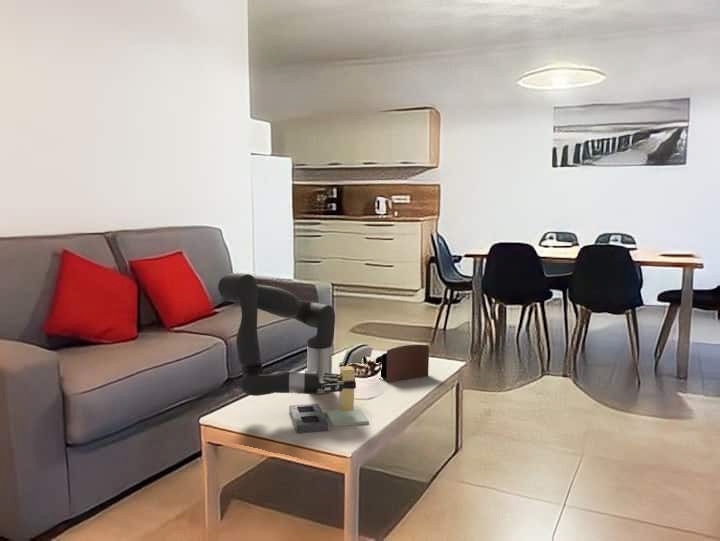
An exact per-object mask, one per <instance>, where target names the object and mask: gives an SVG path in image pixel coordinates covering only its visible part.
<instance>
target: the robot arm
mask: <svg viewBox="0 0 720 541" xmlns="http://www.w3.org/2000/svg"><path fill="white" fill-rule="evenodd" d="M217 287H218V290H217V291H218V293H219V295H220V296H221V297H222V299H224V300H225V301H228V302H231V303H239V306H240V309H241V318H240V319H241V320H240V324H239V327H238V330H237V334H236V341H235V342H236V343H235V345H236V351H237V358H238V362H239V364H240V365H241V372H242V379H241V382H240V388H241V390H242V392H243V393H244V394H246V395H248V396H251V397H252V396H254V397H255V396H257V397H258V396H259V397H261V396H265V395H266V396H267V395H272V394H275V393H277V394H295V395H323V394H329V393H340V392H341V391H342V390H344V389H354V390H355V389H356V387H357V382H356V379H355V380H354V382H345V383H344V381H340V373H332V372H333V370H332V367H333V366H332V365H333V341H334V337H335V326H336V325H335V324H336V313H335V309H334V307H333V306H332V305H330V304H326V303H320V302H311V301H306V300H302V299H299V298H298V297H297V295H295V294H294V293H292V292H290V291H288V290H285V289H283V288H280V287H276V286H271V285H262V284H257V280H256V278H255V277H254V276H253V275H252V274H251V273H246V272H245V273H244V272H243V273H238V272H237V273H233V272H231V273H227V274H225V275H223V276H222V277H221V278H220V280H219V281H218V284H217ZM258 310H260V311H263V312H265V313H268V314H271V315H274V316H276V317H281V318H284V319H293V320H296V321H299V322H300V323H303V324H304V325H306V326H308V327H311V328H316V335H311V336H310V337H308V338H307V343H306V344H307V346H306V349H307V351H306V352H307V354H306V355H307V360H306V362H307V364H306V370H292V371H289V370H288V371H287V370H286V371H279V370H278V371H274V372H272V373H271V374H270V373H269V374H265V373H264V367H263V364H262V361H261V360H262V359H261V352H260V345H259V337H258Z"/></svg>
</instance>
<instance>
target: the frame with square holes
mask: <svg viewBox="0 0 720 541" xmlns="http://www.w3.org/2000/svg"><path fill="white" fill-rule="evenodd" d="M288 408H289V409H288V412H289V416H290V418H291V421H292V424H293V427H294V429H295V433H296V434H302V433H303V434H304V433H315V432H316V431H319V432H329V422H328V419H327V417H326V416H325V414H324V412H323V410H322V408H321V406H320V404H319V403H308V404H294V405H289V406H288Z"/></svg>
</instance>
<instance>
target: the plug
mask: <svg viewBox="0 0 720 541" xmlns="http://www.w3.org/2000/svg"><path fill="white" fill-rule="evenodd" d="M355 372H356V369H355V368H354V366H353V367H352V366H346V365H345V366H340V368H339V374H340V381H344V383H345V382H354V380H355V381H356V378H355V375H356V374H355ZM338 397H339V398H338V399H339V402H338V405H339V407H338V408H339V410H341V411H354V409H355V408H354V406H355V405H354V404H355V389H344V390H342V391H341V392H339V396H338Z"/></svg>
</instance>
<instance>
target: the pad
mask: <svg viewBox="0 0 720 541" xmlns="http://www.w3.org/2000/svg"><path fill="white" fill-rule="evenodd" d="M362 410H363V409H361V407H360V408H358V407H356V408H354V411H341V410H340V409H329V410H327V409H326V410H325V415H326V418H328V419H327V420H328V421H329V423H330V425H331V426H332V427H333V428H334V427H346V426H347V425H349V426H359V425H358V424H363V425H369V424H370V422H369V418H368V417H367V416H366V414H364V412H363V411H362ZM347 427H348V426H347Z"/></svg>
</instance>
